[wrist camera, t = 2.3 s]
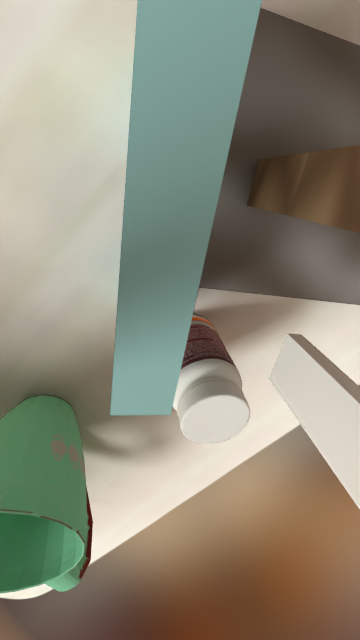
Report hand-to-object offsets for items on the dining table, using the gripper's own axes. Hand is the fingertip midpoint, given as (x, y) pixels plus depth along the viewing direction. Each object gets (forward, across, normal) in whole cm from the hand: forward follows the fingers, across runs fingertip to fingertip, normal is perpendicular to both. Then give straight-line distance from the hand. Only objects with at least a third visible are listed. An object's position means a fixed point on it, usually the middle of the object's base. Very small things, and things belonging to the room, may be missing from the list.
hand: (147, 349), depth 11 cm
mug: (+9, -6, -15) cm, 19 cm away
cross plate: (+8, 0, +5) cm, 10 cm away
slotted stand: (+8, +14, +8) cm, 18 cm away
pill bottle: (+8, +4, -4) cm, 10 cm away
